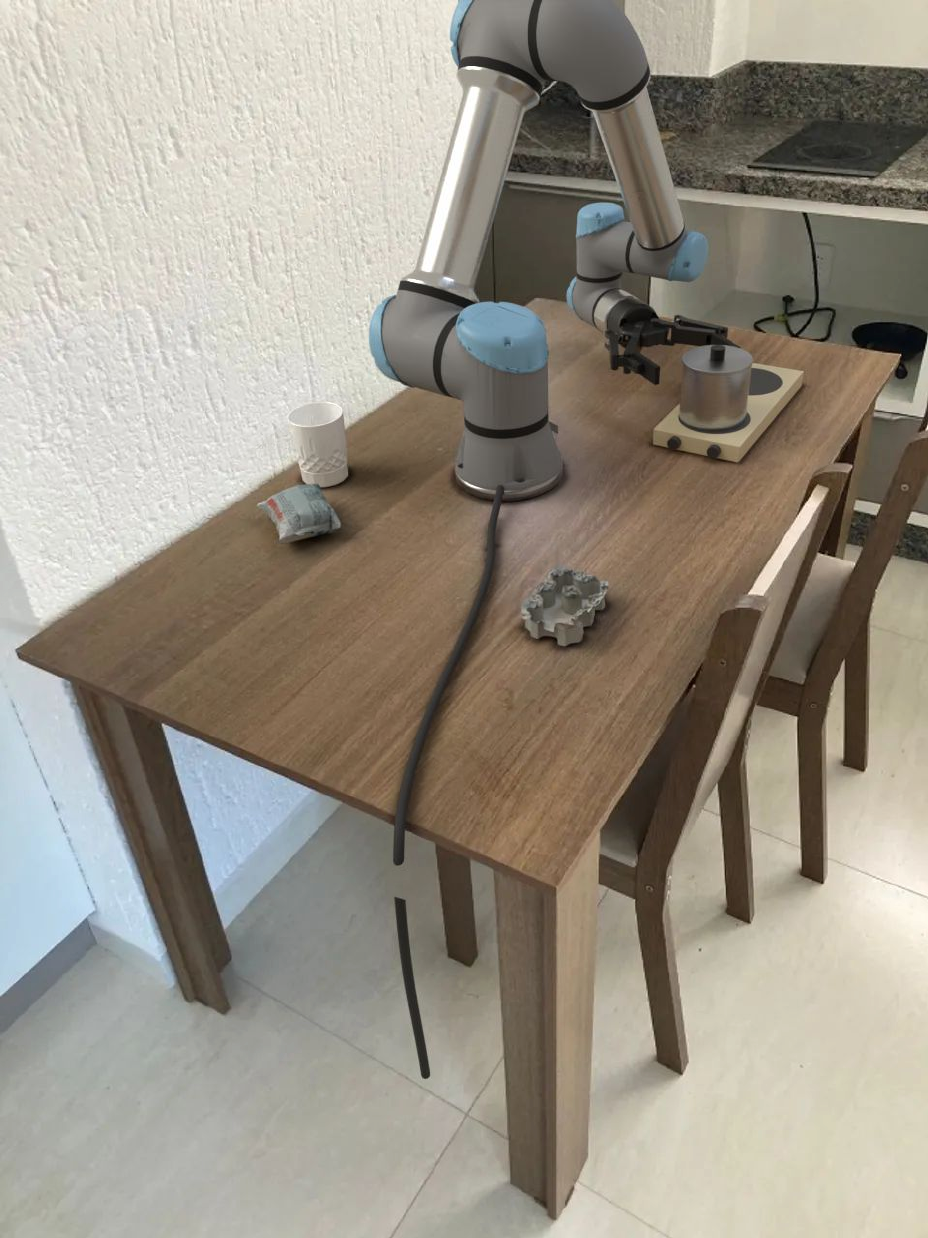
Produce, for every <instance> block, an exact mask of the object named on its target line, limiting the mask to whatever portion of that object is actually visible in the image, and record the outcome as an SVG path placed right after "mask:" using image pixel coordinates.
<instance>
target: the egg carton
mask: <svg viewBox="0 0 928 1238" xmlns="http://www.w3.org/2000/svg"><path fill="white" fill-rule="evenodd" d="M609 584H610V580H608V579H604V580H600V579H599V578H598V577H597V576H596V575H595V574H588V573H586V571H580V570H578V569H576V568H573V569H571V568H568V567H567V566H566V565H563V564H561V563H559V562H557V563H556V564H555V566H554V567H553V568H552V569H551V571H550V572H549V574H548V575H547V576H545V578H544V579H543V581H539V583H538V585H537V586H536V588H535V589H533V591H531V593H530V595H528V596H527V597H526V598H525V599H523V600H522V602H521V604H520V618H521V619H522V620H525V621H524V622H525V623H524V627H525V629H527V630H528V631H529V634H530V636H531V638H534V639H536V640H539V639H540V638H542V637H553V638H556V640H557V645H558V646H562V647H567V646H569V645H570V644H578V643H580V642H581V641H582V640H583V635H584V633H585V631H584V627H591V626H592V624H593V623H594V618H595V616H596V611H603V610H604V609H605V608H606V601H605V596H606V594H607V592H609Z"/></svg>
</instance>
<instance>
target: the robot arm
mask: <svg viewBox="0 0 928 1238" xmlns="http://www.w3.org/2000/svg"><path fill="white" fill-rule="evenodd" d="M449 28H450V29H449V41H450V42H452V44H451V47H450V53H451V57H452V59H453V61H454V63H455V65H456V67H457V70H456V79H457V81H458V84H459V85H460V87H461V90H462V96H461V98H460V99H461V100H460V103H459V107H458V110H457V115H456V118H455V122H454V125H453V129H452V133H451V136H450V140H449V142H448V147H447V150H446V155H445V158H444V161H443V164H442V169H441V172H440V176H439V180H438V184H437V187H436V190H435V195H434V198H433V202H432V206H431V209H430V213H429V216H428V219H427V223H426V226H425V227H426V228H425V231H424V235H423V238H422V241H421V245H420V249H419V253H418V256H417V260H416V264H415V266H414V267H415V268H414V270H412V272H410V273H408V274H406V275H404V276H403V277H401V278H400V280H399V284H398V288H397V291H396V294H393V295H390V296H387V297H385V298H384V299H383V300H382V301H381V303H379V304H378V305H377V306H376V307H375V309H374V311H373V313H372V316H371V319H370V323H369V329H368V346H369V351H370V354H371V356H372V358H373V359H374V364H375V366H376V367H377V370H379V371H380V372H381V374H382V375H384V376H385V377H386V378H388V379H390V380H392V381H394V382H398V383H400V384H401V385H403V386H406V387H408V388H413V389H415V388H416V389H418V390H422V391H426V392H430V393H434V394H437V395H440V396H443V397H447V398H452V399H454V400H458V401H461V402H462V409H463V410H462V411H463V423H464V429H463V432H462V436H461V440H460V443H459V447H458V451H457V454H456V458H455V464H454V473H455V474H454V475H455V481H456V483H457V485H458V487H459V488H460V489H461V490H463V491H464V492H465V493H467V494H469V495H471V496H474V497H476V498H479V499H483V500H488V501H493V504H492V507H491V512H490V516H489V521H488V528H487V535H486V536H487V537H486V560H485V565H484V570H483V573H482V576H481V581H480V584H479V586H478V590H477V593H476V596H475V598H474V601H473V603H472V606H471V609H470V611H469V614H468V616H467V617H466V620H465V623H464V625H463V627H462V629H461V632H460V634H459V636H458V638H457V641H456V643H455V645H454V647H453V650H452V651H451V653H450V655H449V658H448V660H447V662H446V664H445V666H444V668H443V671H442V672H441V674H440V676H439V679H438V681H437V684H436V686H435V688H434V689H433V693H432V695H431V697H430V699H429V701H428V704H427V707H426V710H425V712H424V714H423V716H422V720H421V722H420V724H419V726H418V729H417V732H416V735H415V738H414V740H413V744H412V747H411V750H410V753H409V756H408V759H407V762H406V766H405V769H404V773H403V776H402V782H401V784H400V788H399V793H398V799H397V804H396V810H395V815H394V823H393V824H394V825H393V844H392V845H393V847H392V850H393V851H392V862H393V864H394V866H398V867H399V866H401V865H403V863H404V862H405V848H406V847H405V846H406V845H405V843H406V841H405V840H406V839H405V838H406V821H407V814H408V808H409V802H410V796H411V791H412V786H413V782H414V779H415V774H416V771H417V768H418V764H419V760H420V758H421V754H422V751H423V748H424V745H425V742H426V739H427V737H428V733H429V730H430V728H431V725H432V723H433V719H434V717H435V714H436V712H437V709H438V707H439V704H440V702H441V700H442V697H443V695H444V692H445V690H446V688H447V685H448V683H449V681H450V679H451V677H452V674H453V672H454V671H455V668H456V666H457V663H458V661H459V659H460V657H461V655H462V652H463V651H464V648H465V647H466V644H467V641H468V639H469V638H470V635H471V633H472V630H473V628H474V626H475V623H476V621H477V618H478V616H479V614H480V611H481V609H482V606H483V603H484V600H485V598H486V594H487V592H488V588H489V585H490V583H491V579H492V574H493V572H494V571H493V570H494V565H495V559H496V558H495V556H496V532H497V531H496V530H497V524H498V520H499V515H500V510H501V506H502V502H511V501H512V502H513V501H521V500H526V499H531V498H535V497H539V496H540V495H543V494H544V493H547V492H549V491H550V490H552V489H553V488H555V487H556V486H557V485H558V484H559V482H560V481H561V480H562V478H563V473H564V471H563V470H564V469H563V466H564V465H563V457H562V454H561V452H560V450H559V448H558V444H557V442H556V438H555V436H554V433H555V434H556V435H559V425H557V424H555V423H554V422H552V421H550V417H549V358H550V349H549V346H548V341H547V339H548V338H547V329H546V327H545V323H544V322H543V320H542V318H541V317H540V316H539V315H538V314H537V313H535V312H534V311H533V310H531V309H529V308H527V307H525V306H523V305H519V304H516V303H512V302H507V301H499V302H494V301H482V302H480V299H479V297H478V295H477V293H476V292H475V286H476V283H477V279H478V275H479V272H480V269H481V265H482V261H483V259H484V255H485V251H486V248H487V244H488V241H489V237H490V234H491V230H492V228H493V227H492V226H493V224H494V220H495V216H496V213H497V209H498V206H499V202H500V200H501V199H500V198H501V196H502V193H503V188H504V184H505V181H506V178H507V174H508V171H509V167H510V164H511V160H512V158H513V157H512V156H513V153H514V150H515V147H516V143H517V139H518V136H519V132H520V128H521V125H522V122H523V118H524V115H525V113H527V111H529V110H531V109H533V108H534V107H536V106H538V105H539V103H540V100H541V97H542V93H543V89H544V86H545V83H546V82H563V83H566V84H568V85H570V86H571V87H573V88H574V89H575V90H576V92H577V95H578V99H579V101H580V103H581V105H582V106H583V107H584V109H586V110H588V111H590V112H592V114H593V117H594V120H595V123H596V126H597V129H598V131H599V134H600V137H601V140H602V143H603V146H604V148H605V153H606V154H607V157H608V161H609V164H610V167H611V169H612V172H613V176H614V178H615V181H616V183H617V187H618V189H619V192H620V196H621V198H622V201H623V204H624V206H625V207H624V208H625V210H626V213H627V216H628V220H629V221H625V216H624V209H623V207H622V206H621V205H619V204H616V203H613V202H595V203H589V204H587V205H585V206H583V207H581V208H580V209H579V211H578V212H577V217H576V220H577V221H576V234H575V239H576V240H575V241H576V242H575V244H576V275H575V277H574V278H573V279H571V282H570V284H569V286H568V288H567V291H566V302H567V303H566V304H567V305H568V308H569V309H570V311H572V312H573V313H574V314H575V315H576V316H577V318H578V319H579V320H580V321H582V322H585V323H587V324H589V325H591V326H592V327H594V328H595V329H596V330H598V331H599V332H600V333H603V334H604V347H605V349H606V350H608V354H609V365H610V370H611V371H618V370H619V368H622V373H623V374H624V375H630V374H631V373H633V374H636V375H640V376H641V377H642V378H644V379H645V380H646V381H648V382H650V383H651V384H652V385H654V386H657V385H660V376H661V366H660V365H658V364H657V363H655V362H654V361H653V360H651V359H649V358H648V357H646V356H645V355H643V354H642V353H641V351H642V349H643V348H652V347H654V346H661V345H662V346H670V347H673V346H675V345H677V344H678V345H686V346H692V347H693V346H694V347H700V346H706V345H726V346H733V347H737V348H740V349H742V348H741V346H739V345H738V344H736V343H735V342H733V340H730V339H729V338H728V333H729V327H727V326H723V325H719V324H715V323H711V322H706V321H701V320H696V319H692V318H688V317H686V316H685V315H684V316H683V315H681V314H675V315H673V320H671V321H668V320H666V319H662V318H659V316H658V314H657V312H656V310H655V309H654V308H653V307H652V306H651V305H649V304H648V303H646V302H644V301H643V300H641V299H639V298H638V297H636V296H635V295H633V294H632V293H630V292H628V291H626V290H625V289H623V288H622V276H623V273H630V274H634V275H635V274H636V275H640V276H645V277H650V278H656V279H661V280H666V281H669V282H673V281H674V282H683V283H692V282H694V281H696V280H697V279H698V277H700V275H701V273H702V272H703V270H704V269H705V266H706V264H707V259H708V254H709V244H708V240H707V237H706V236H705V235H704V234H702V233H701V232H697V231H695V230H693V229H690V230H688V229H687V227H686V223H685V220H684V217H683V214H682V211H681V207H680V203H679V199H678V196H677V192H676V189H675V185H674V182H673V181H674V180H673V177H672V174H671V170H670V168H669V167H670V166H669V164H668V159H667V155H666V153H665V149H664V145H663V142H662V138H661V134H660V131H659V127H658V125H657V120H656V116H655V113H654V110H653V109H654V108H653V106H652V103H651V98H650V96H649V92H648V88H647V87H648V86H649V83H650V81H651V74H652V73H651V68H650V64H649V61H648V57H647V53H646V51H645V48H644V45H643V43H642V40H641V37H640V36H639V34H638V33H637V31H636V29H635V28H634V26H633V23H632V21H630V19H629V18H628V16H627V14H626V13H625V12H624V11H623V9H622V8H621V7H620V6H619V4H618V3H617V1H615V0H459V1H458V2H457V4H456V6H455V9H454V12H453V13H452V18H451V22H450V27H449ZM669 333H670V339H668V338H669ZM619 346H621V347H622V348H624V351H623V354H620V349H619ZM393 900H394V907H395V908H394V909H395V910H394V911H395V921H396V931H397V940H398V942H397V943H398V948H399V949H398V950H399V956H400V964H401V971H402V972H401V973H402V978H403V984H404V990H405V991H404V992H405V996H406V1002H407V1006H408V1012H409V1017H410V1022H411V1027H412V1032H413V1037H414V1043H415V1049H416V1053H417V1054H416V1055H417V1058H418V1065H419V1072H420V1076H421V1078H422V1079H424V1080H428V1079H429V1078H430V1077H431V1068H430V1062H429V1055H428V1051H427V1050H428V1049H427V1044H426V1038H425V1033H424V1027H423V1021H422V1017H421V1012H420V1005H419V1000H418V995H417V989H416V981H415V976H414V970H413V961H412V954H411V953H412V952H411V944H410V935H409V926H408V913H407V901H406V899H405V898H400V897H397V896H394V899H393Z"/></svg>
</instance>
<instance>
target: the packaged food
mask: <svg viewBox="0 0 928 1238" xmlns="http://www.w3.org/2000/svg"><path fill="white" fill-rule="evenodd" d="M256 507H257V508H258V509H260V510H261V511H262V512H264V513H265V514H266V515H267V516H268V517H269V518H270V519H271V521H272V523H274V525H275V527H276V531H277V533H278V536H279V539H278V543H279V544H280V545H282V544H285V543H286V544H287V543H288V544H289V543H293V542H297V541H300V540H305V539H309V538H313V537H316V536H321V535H325V534H329V533H330V534H331V533H332V532H335V531H337V530H338V529H340V528H341V527H342V523H341V519H340V518H339V517H338V514H337V513H336V511H335V509H334V508H333V506H332V505H331V504H330V502H329V501H328V499H327V497H326V496H325V495H324V493H323V492H322V487H320V486H319V484H306V483H304V484H297V485H295V486H292V487H288V488H286V489H283V490H281V491H279V492H278V493H275V494H272V495H271V496H270V497H268V498H267V499H266V500H263V501H262V502H258V503H257V504H256Z"/></svg>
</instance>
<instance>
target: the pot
mask: <svg viewBox="0 0 928 1238" xmlns="http://www.w3.org/2000/svg"><path fill="white" fill-rule="evenodd" d="M681 358H682V359H681V364H682V365H681V366H682V367H681V369H682V370H681V382H680V397H679V404H680V411H679V417H680V420H681V421H682V422H683V423H684V424H686V425H687V426H690V427H692V428H695V429H699V430H705V431H723V430H729V429H733V428H736V427H738V426H740V425H741V424H743V422H744V421H745V419H746V413H747V404H748V394H749V385H750V376H751V366H752V364H753V363H754V358H753V355H752V354H751V353H750V352H749V351H747V350H745V349H744V348H737V347H733V346H726V345H706V346H695V347H693V348H691V349H688V350H687V351H685V352H684V353H683V355H682V356H681Z"/></svg>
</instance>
